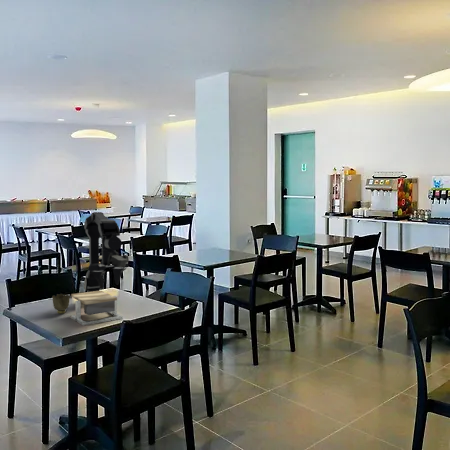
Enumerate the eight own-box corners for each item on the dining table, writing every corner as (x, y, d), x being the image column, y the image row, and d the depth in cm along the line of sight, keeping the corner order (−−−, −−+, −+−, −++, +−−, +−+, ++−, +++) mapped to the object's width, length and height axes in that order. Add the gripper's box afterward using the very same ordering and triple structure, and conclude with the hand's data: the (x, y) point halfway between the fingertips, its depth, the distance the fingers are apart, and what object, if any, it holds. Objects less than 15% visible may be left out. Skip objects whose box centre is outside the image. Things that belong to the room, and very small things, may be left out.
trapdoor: (71, 306, 222) (71, 294, 221) (101, 302, 230) (101, 290, 230) (85, 315, 209) (85, 302, 209) (116, 310, 218) (116, 297, 217)
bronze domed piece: (60, 316, 218) (60, 298, 218) (48, 313, 222) (48, 295, 222) (73, 312, 225) (73, 295, 224) (62, 310, 229) (62, 292, 228)
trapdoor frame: (71, 317, 217) (71, 298, 216) (110, 311, 228) (110, 293, 227) (82, 325, 207) (82, 305, 206) (122, 318, 218) (123, 299, 217)
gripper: (106, 250, 206) (107, 289, 206) (137, 248, 222) (138, 284, 222) (87, 250, 212) (88, 288, 212) (118, 248, 228) (119, 283, 228)
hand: (109, 285), depth 218 cm, fingers open, 9 cm apart
